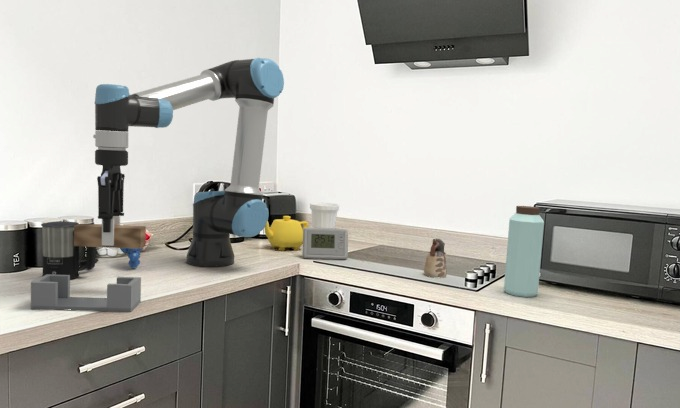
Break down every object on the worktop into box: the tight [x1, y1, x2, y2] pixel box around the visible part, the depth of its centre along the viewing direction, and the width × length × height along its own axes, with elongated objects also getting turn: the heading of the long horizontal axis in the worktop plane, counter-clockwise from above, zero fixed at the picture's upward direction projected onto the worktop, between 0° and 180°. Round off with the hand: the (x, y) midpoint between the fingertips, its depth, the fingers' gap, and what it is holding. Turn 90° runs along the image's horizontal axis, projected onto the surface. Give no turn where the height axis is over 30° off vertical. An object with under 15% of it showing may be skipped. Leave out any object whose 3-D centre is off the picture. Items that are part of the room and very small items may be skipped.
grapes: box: [119, 247, 144, 269], centre depth 170 cm, size 12×7×12 cm, turn 19°
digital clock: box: [302, 227, 349, 261], centre depth 200 cm, size 16×9×11 cm, turn 85°
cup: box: [309, 202, 340, 228], centre depth 238 cm, size 12×12×15 cm
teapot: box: [264, 215, 309, 252], centre depth 214 cm, size 13×20×12 cm
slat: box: [74, 223, 147, 249], centre depth 140 cm, size 16×4×5 cm, turn 93°
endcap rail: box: [30, 274, 142, 313], centre depth 129 cm, size 21×8×6 cm, turn 95°
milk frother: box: [40, 221, 99, 280], centre depth 157 cm, size 14×16×15 cm
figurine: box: [423, 238, 448, 278], centre depth 181 cm, size 7×7×12 cm
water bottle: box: [503, 205, 545, 298], centre depth 162 cm, size 10×10×25 cm
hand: (111, 243), depth 141 cm, fingers closed on slat, 4 cm apart
